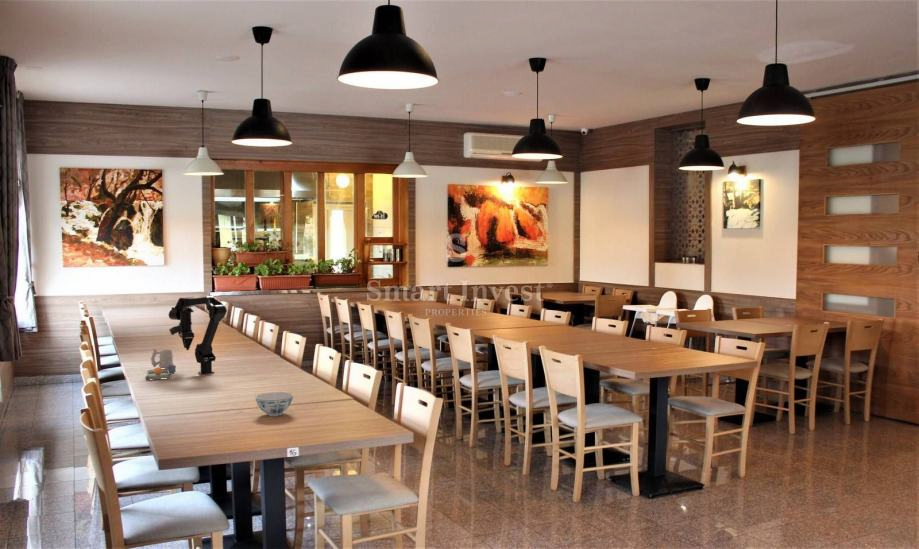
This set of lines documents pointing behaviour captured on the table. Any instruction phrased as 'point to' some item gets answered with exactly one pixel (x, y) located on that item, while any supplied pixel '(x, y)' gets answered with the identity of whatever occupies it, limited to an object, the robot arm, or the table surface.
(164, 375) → the tray
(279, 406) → the chinaware
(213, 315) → the robot arm
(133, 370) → the table surface
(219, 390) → the table surface
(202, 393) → the table surface
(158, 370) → the ball
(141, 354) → the table surface
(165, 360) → the mug
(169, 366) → the cylinder with square socket
